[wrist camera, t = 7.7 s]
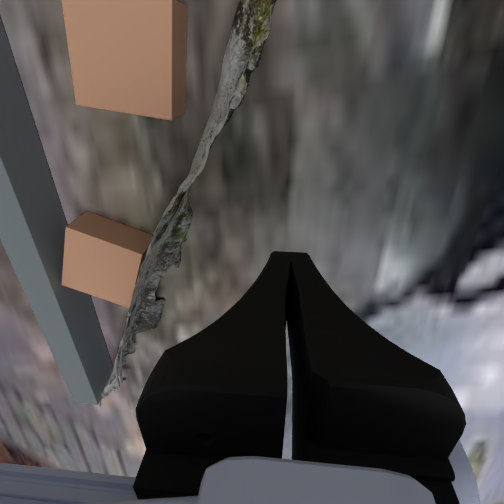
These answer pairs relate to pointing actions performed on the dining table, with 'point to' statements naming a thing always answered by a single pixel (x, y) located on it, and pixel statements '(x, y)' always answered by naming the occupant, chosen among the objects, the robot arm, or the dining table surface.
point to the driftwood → (194, 175)
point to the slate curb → (44, 244)
